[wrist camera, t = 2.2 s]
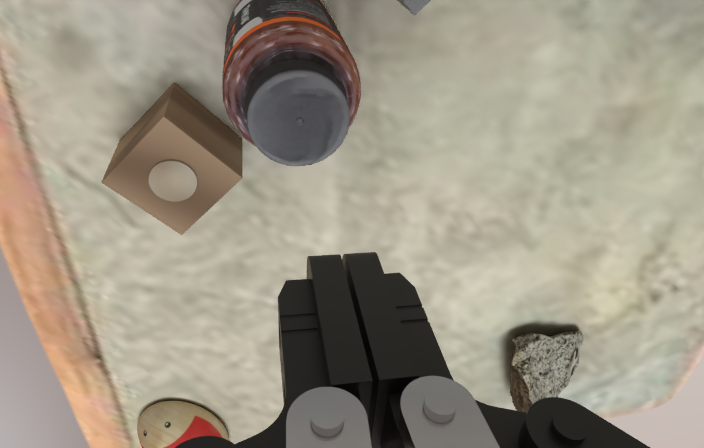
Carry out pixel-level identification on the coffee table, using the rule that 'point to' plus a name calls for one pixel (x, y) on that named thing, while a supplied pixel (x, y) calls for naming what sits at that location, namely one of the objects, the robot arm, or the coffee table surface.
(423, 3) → the charcoal dotted block
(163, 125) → the walnut dotted block
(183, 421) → the ladybug figurine
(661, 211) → the coffee table surface
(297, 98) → the supplement bottle
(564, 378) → the rock sample
